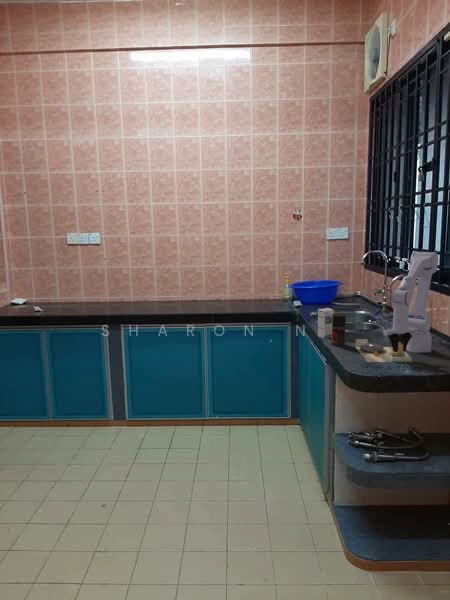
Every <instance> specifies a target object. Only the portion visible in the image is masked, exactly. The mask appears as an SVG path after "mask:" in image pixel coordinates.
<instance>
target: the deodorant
mask: <svg viewBox="0 0 450 600" xmlns="http://www.w3.org/2000/svg"><path fill="white" fill-rule="evenodd" d="M346 317H347V316H346V314H344V313H334V314H333V315H332V338H331V346H334V347H345V346H346V344H345V343H346V319H347V318H346Z"/></svg>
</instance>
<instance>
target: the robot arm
mask: <svg viewBox="0 0 450 600" xmlns="http://www.w3.org/2000/svg"><path fill="white" fill-rule="evenodd" d="M409 261H410V269H409V271H408V273H407V275H406V276H404V277H402V280H401V282H400V284H399V285H398V288H397V289H395V290H393V291H392V294H391V302H392V303H391V304H392V305H391V306H392V308H393V317H392V328H389V329H383V331H382V332H383V333H382V334H383V336H385V337H388V339H389V341H390V343H391V347H392V348H393V351H394V352H398V344H399V343H402V344H404V350H403V352H406V350H407V351H408V352H411V353H415V354H416V353H418V354H421V353H432V341H433V338H432V334H431V333H430V332H429V331H430V330H431V325H432V320H431V319H432V318H431V315H430V314H429V313H428V312H427V311H426V309H427V308H426V307H427V303H428V297H429V292H430V288H431V287H430V286H431V280H432V276H433V274H435V273H436V272H437V269H438V265H439V254H438V253H437V252H436V251H433V252H429V251H413V252H412V253H411V255H410V260H409ZM417 279H418V281H417ZM415 288H416V293H415V299H414V303H413V307H412V309H411V310H410V304H411V303H412V301H413V296H414V290H415Z"/></svg>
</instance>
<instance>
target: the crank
mask: <svg viewBox="0 0 450 600" xmlns="http://www.w3.org/2000/svg"><path fill="white" fill-rule="evenodd" d="M354 346H355V347H360V350H362V351H365V352H370V353H373V354H374V355H377V353H379V352H383V351H384V347H385V346H384V345H382V344H378V343H371V342H369V341H368V339H367V338H363V339H362V338H355V344H354Z"/></svg>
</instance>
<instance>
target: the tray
mask: <svg viewBox="0 0 450 600" xmlns="http://www.w3.org/2000/svg"><path fill="white" fill-rule="evenodd" d="M386 356H387V357H388V358H389V359H390V360H391V361H392V362H391V363H413V357H411V355H410V354H408V353H407V352H406V351H403V357H392V352H386Z"/></svg>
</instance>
